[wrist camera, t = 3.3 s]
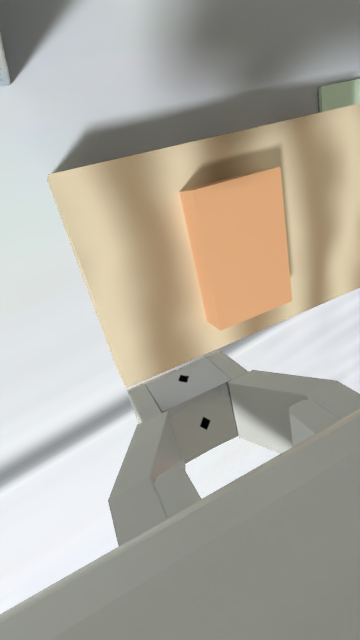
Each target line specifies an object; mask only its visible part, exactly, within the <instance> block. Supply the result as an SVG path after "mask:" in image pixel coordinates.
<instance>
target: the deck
mask: <svg viewBox="0 0 360 640" xmlns="http://www.w3.org/2000/svg"><path fill="white" fill-rule="evenodd" d="M274 167H280V169H281V180H282V191H283V203H284V214H285V225H286V236H287V247H288V258H289V270H290V281H291V292H292V301H291V302H289V303H286V304H284V305H281V306H279V307H277V308H274V309H272V310H269V311H267V312H265V313H262V314H260V315H257V316H255V317H253V318H250V319H248V320H245V321H243V322H240V323H238V324H236V325H233V326H231V327H228V328H226V329H224V330H221V331H220V330H219V329H217V328H216V327H214V326H213V325H211V324H210V323H208V322H207V319H206V314H205V310H204V305H203V300H202V296H201V291H200V286H199V282H198V277H197V272H196V268H195V263H194V258H193V254H192V249H191V244H190V240H189V235H188V230H187V226H186V221H185V217H184V212H183V207H182V203H181V198H180V193H179V192H181V191H184V190H188V189H192V188H195V187H199V186H203V185H206V184H210V183H214V182H217V181H221V180H225V179H228V178H232V177H236V176H239V175H243V174H247V173H251V172H254V171H258V170H262V169H268V168H274ZM47 182H48V184H49V187H50V190H51V192H52V195H53V198H54V200H55V203H56V206H57V209H58V211H59V214H60V217H61V219H62V222H63V225H64V228H65V230H66V233H67V236H68V238H69V241H70V244H71V246H72V249H73V252H74V255H75V257H76V260H77V263H78V265H79V268H80V271H81V274H82V276H83V279H84V282H85V284H86V287H87V290H88V292H89V295H90V298H91V301H92V303H93V306H94V309H95V311H96V314H97V317H98V320H99V322H100V325H101V328H102V330H103V333H104V336H105V338H106V341H107V344H108V347H109V349H110V352H111V355H112V357H113V360H114V363H115V365H116V367H117V369H118V372H119V374H120V376H121V378H122V380H123V382H124V384H125V386H126V388H128V387H130V386H132V385H135V384H137V383H139V382H142V381H144V380H146V379H149V378H151V377H153V376H156V375H158V374H160V373H163V372H165V371H167V370H169V369H172V368H174V367H176V366H179V365H181V364H183V363H186V362H188V361H190V360H193V359H195V358H197V357H200V356H202V355H204V354H207V353H209V352H211V351H214V350H216V349H218V348H221V347H223V346H225V345H228V344H230V343H232V342H234V341H237V340H239V339H241V338H244V337H246V336H248V335H251V334H253V333H255V332H258V331H260V330H262V329H265V328H267V327H269V326H272V325H274V324H276V323H279V322H281V321H283V320H286V319H288V318H290V317H293V316H295V315H297V314H300V313H302V312H304V311H306V310H309V309H311V308H313V307H316V306H318V305H320V304H323V303H325V302H327V301H330V300H332V299H334V298H337V297H339V296H341V295H344V294H346V293H348V292H351V291H353V290H355V289H358V288H360V103H359V104H355V105H351V106H346V107H342V108H337V109H333V110H329V111H324V112H320V113H316V114H311V115H307V116H302V117H298V118H294V119H289V120H285V121H280V122H276V123H272V124H267V125H263V126H259V127H254V128H250V129H245V130H241V131H237V132H232V133H228V134H223V135H219V136H215V137H210V138H206V139H202V140H197V141H193V142H188V143H184V144H180V145H175V146H171V147H166V148H162V149H158V150H153V151H149V152H145V153H140V154H136V155H131V156H127V157H123V158H118V159H114V160H109V161H105V162H101V163H96V164H92V165H88V166H83V167H79V168H74V169H70V170H66V171H61V172H57V173H52V174H48V178H47Z"/></svg>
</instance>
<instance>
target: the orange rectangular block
mask: <svg viewBox="0 0 360 640" xmlns="http://www.w3.org/2000/svg"><path fill="white" fill-rule="evenodd" d="M179 193H180V198H181V203H182V207H183V212H184V217H185V221H186V226H187V230H188V235H189V240H190V244H191V249H192V254H193V258H194V263H195V268H196V272H197V277H198V282H199V286H200V291H201V296H202V300H203V305H204V310H205V314H206V319H207V322H208V323H210V324H211V325H213V326H214V327H216V328H217V329H219V330H220V331H221V330H224V329H226V328H228V327H231V326H233V325H236V324H238V323H240V322H243V321H245V320H248V319H250V318H253V317H255V316H257V315H260V314H262V313H265V312H267V311H269V310H272V309H274V308H277V307H279V306H281V305H284V304H286V303H289V302H291V301H292V292H291V281H290V270H289V258H288V247H287V236H286V225H285V214H284V203H283V191H282V180H281V169H280V167H274V168H268V169H262V170H258V171H254V172H251V173H247V174H243V175H239V176H236V177H232V178H228V179H225V180H221V181H217V182H214V183H210V184H206V185H203V186H199V187H195V188H192V189H188V190H184V191H181V192H179Z"/></svg>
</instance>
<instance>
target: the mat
mask: <svg viewBox="0 0 360 640" xmlns="http://www.w3.org/2000/svg"><path fill="white" fill-rule="evenodd" d="M318 89H319V113H320V112H324V111H329V110H333V109H337V108H342V107H346V106H351V105H355V104H359V103H360V79H356V80H351V81H346V82H341V83H336V84H331V85H326V86H321V87H319V88H318Z"/></svg>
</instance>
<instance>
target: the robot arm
mask: <svg viewBox="0 0 360 640" xmlns="http://www.w3.org/2000/svg"><path fill="white" fill-rule="evenodd" d="M127 392H128V396H129V398H130V401H131V404H132V407H133V410H134V412H135V415H136V418H137V421H138V423H139V424H138V425H137V427H136V429H135V432H134V435H133V437H132V440H131V442H130V445H129V448H128V450H127V453H126V455H125V458H124V461H123V463H122V466H121V468H120V471H119V474H118V476H117V479H116V481H115V484H114V487H113V489H112V492H111V494H110V497H109V500H108V502H109V506H110V511H111V515H112V519H113V524H114V528H115V533H116V537H117V541H118V546H119V547H117V548H115V549H114V550H112V551H110V552H108V553H107V554H105V555H103V556H101V557H100V558H98V559H96V560H95V561H93V562H91V563H89V564H88V565H86V566H84V567H82V568H81V569H79V570H77V571H75V572H74V573H72V574H70V575H68V576H67V577H65V578H63V579H61V580H60V581H58V582H56V583H54V584H53V585H51V586H49V587H47V588H46V589H44V590H42V591H40V592H39V593H37V594H35V595H33V596H32V597H30V598H28V599H26V600H25V601H23V602H21V603H19V604H18V605H16V606H14V607H12V608H11V609H9V610H7V611H5V612H4V613H2V614H0V640H360V394H359V393H357V392H355V391H354V390H352V389H350V388H348V387H347V386H345V385H343V384H341V383H340V382H338V381H334V380H327V379H319V378H311V377H303V376H296V375H288V374H280V373H272V372H265V371H257V370H252V371H250V372H248V371H247V370H246V369H244V368H243V367H242V366H240V365H239V364H238V363H236V362H235V361H234V360H232V359H231V358H230V357H228V356H227V355H226V354H224V353H223V352H222V351H219V350H218V351H216V352H213V353H211V354H209V355H207V356H205V357H203V358H201V359H199V360H197V361H195V362H193V363H191V364H188V365H186V366H184V367H182V368H180V369H178V370H174V371H172V372H169V373H167V374H165V375H162V376H160V377H157V378H155V379H152V380H150V381H148V382H145V383H144V384H143V383H142V384H140V385H138V386H136V387H133V388H131V389H129V390H127ZM237 436H239V437H241V438H243V439H246V440H248V441H251V442H253V443H256V444H258V445H261V446H263V447H266V448H268V449H270V450H273V451H275V452H278V453H280V455H278V456H276V457H274V458H273V459H271V460H269V461H267V462H266V463H264V464H262V465H260V466H259V467H257V468H255V469H253V470H252V471H250V472H248V473H246V474H245V475H243V476H241V477H239V478H238V479H236V480H234V481H233V482H231V483H229V484H227V485H226V486H224V487H222V488H220V489H219V490H217V491H215V492H213V493H212V494H210V495H208V496H206V497H205V498H203V499H201V498H200V496H199V494H198V492H197V491H196V489H195V487H194V485H193V484H192V482H191V480H190V478H189V477H188V475H187V473H186V471H185V464H186V463H187V462H189V461H191V460H193V459H194V458H196V457H198V456H200V455H202V454H203V453H205V452H207V451H209V450H210V449H212V448H214V447H216V446H218V445H220V444H222V443H224V442H226V441H229V440H231V439H233V438H235V437H237Z"/></svg>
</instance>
